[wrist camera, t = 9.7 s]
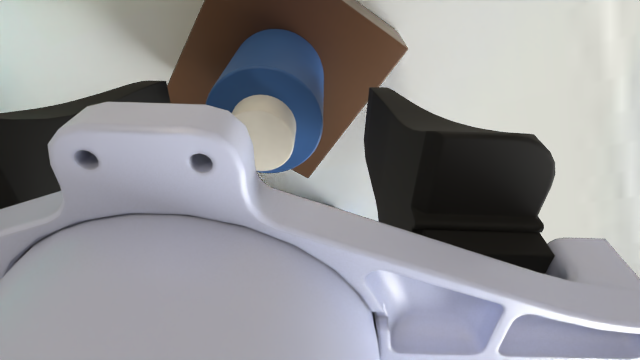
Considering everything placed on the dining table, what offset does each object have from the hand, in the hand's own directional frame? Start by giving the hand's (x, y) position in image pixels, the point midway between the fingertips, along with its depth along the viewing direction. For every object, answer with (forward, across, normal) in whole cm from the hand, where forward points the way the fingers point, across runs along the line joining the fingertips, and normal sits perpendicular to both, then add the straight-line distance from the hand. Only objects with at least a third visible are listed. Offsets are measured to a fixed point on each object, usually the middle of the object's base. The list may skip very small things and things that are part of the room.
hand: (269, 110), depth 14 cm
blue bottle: (+4, 0, 0) cm, 4 cm away
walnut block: (+7, 0, 0) cm, 7 cm away
